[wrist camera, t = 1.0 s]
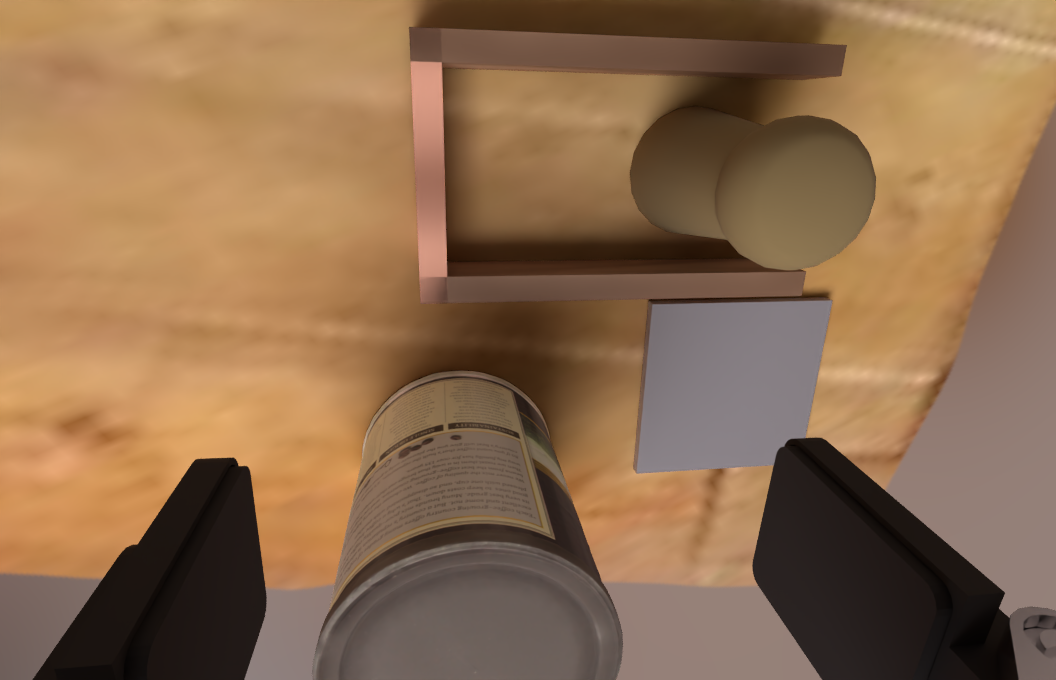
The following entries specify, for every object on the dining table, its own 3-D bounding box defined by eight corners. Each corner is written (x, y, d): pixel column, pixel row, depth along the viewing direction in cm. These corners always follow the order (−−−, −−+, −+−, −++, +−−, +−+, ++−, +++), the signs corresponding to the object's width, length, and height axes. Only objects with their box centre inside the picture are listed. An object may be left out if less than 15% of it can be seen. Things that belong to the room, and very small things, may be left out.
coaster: (648, 300, 32) (652, 304, 31) (825, 297, 33) (832, 300, 33) (633, 467, 35) (636, 473, 35) (794, 458, 37) (800, 463, 36)
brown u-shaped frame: (412, 36, 26) (409, 26, 23) (806, 52, 29) (846, 45, 26) (421, 286, 30) (420, 303, 27) (770, 280, 32) (801, 296, 30)
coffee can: (587, 425, 34) (683, 620, 21) (483, 559, 36) (511, 813, 23) (428, 331, 31) (423, 491, 18) (324, 483, 33) (251, 728, 20)
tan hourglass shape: (606, 158, 29) (699, 181, 19) (712, 78, 28) (866, 57, 18) (669, 257, 31) (783, 327, 21) (769, 185, 31) (935, 220, 20)
